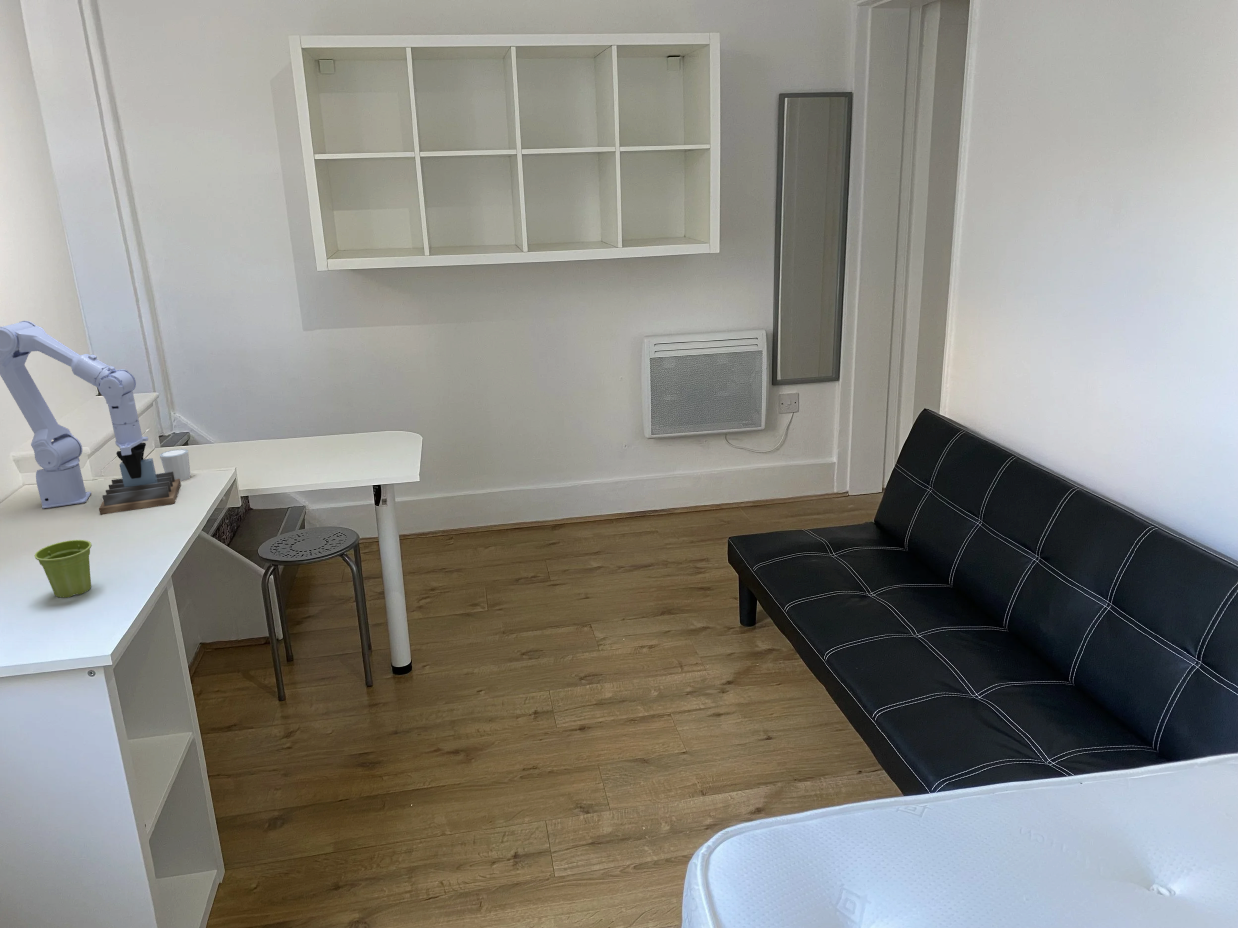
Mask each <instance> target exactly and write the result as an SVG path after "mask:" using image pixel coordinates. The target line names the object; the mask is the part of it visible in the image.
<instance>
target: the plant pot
mask: <svg viewBox="0 0 1238 928" xmlns="http://www.w3.org/2000/svg"><path fill="white" fill-rule="evenodd" d="M92 546H93V545H92V542H90V541H89V540H86V539H71V540H70V539H69V540H65V541H60V542H59V541H58V542H55V543H53V544H50V545H49V544H48V545H47V546H44V547H43V548H41V549H39V550H38V551H36V552H35V553H34V558H35V560H36V561H38V562H39V565H41V566H42V569H43V570H44V571H43V572H44V573H45V575H46V578H47V580H48V583H49V584H50V585H49V586H51V589H52V591H53V594H54V595H55V596H56V597H57V598H71V597H73V596H75V595H83V594H85V593H87V592H88V591H90V590H91V588H92V578H91V567H90V566H91V564H90V555H91V549H92Z"/></svg>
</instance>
